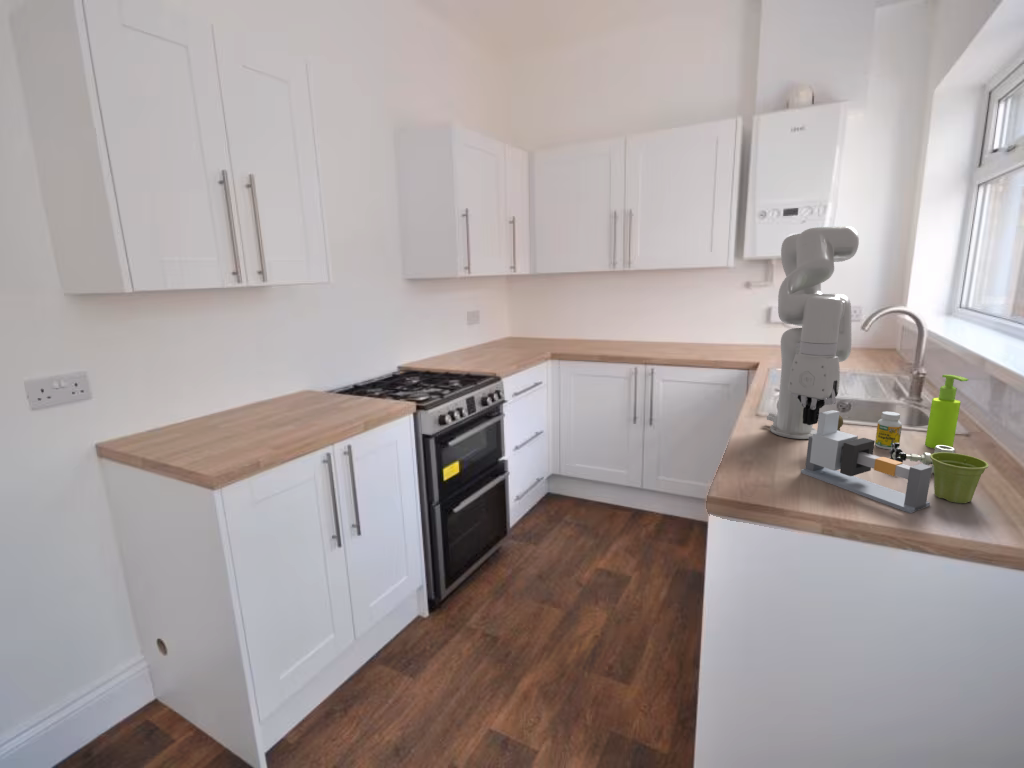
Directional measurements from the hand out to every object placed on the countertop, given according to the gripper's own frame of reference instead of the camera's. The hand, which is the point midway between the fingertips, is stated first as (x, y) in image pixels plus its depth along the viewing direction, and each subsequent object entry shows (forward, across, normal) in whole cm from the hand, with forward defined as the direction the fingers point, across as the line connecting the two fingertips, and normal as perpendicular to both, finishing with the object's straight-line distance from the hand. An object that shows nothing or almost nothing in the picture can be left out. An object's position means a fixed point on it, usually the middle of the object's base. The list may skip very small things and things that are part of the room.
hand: (809, 423), depth 126 cm
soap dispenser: (+12, +7, +45) cm, 47 cm away
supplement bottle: (+12, 0, +33) cm, 35 cm away
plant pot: (+12, +25, +12) cm, 31 cm away
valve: (+12, +14, +22) cm, 29 cm away
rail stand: (+12, +13, 0) cm, 18 cm away
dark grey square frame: (+8, +12, 0) cm, 15 cm away
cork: (+12, -4, +14) cm, 19 cm away
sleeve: (+8, +6, 0) cm, 10 cm away
